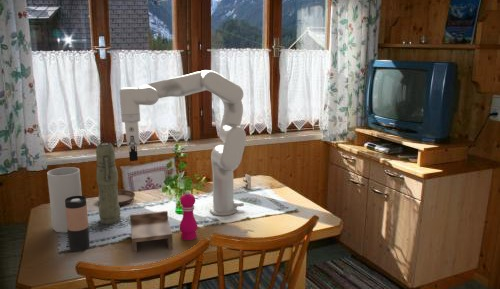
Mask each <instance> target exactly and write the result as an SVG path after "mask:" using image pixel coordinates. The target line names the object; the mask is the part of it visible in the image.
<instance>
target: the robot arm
mask: <svg viewBox="0 0 500 289" xmlns="http://www.w3.org/2000/svg"><path fill="white" fill-rule="evenodd" d="M243 90H244V89H243V88H242V87H241V86H240V85H238V84H237V83H235V82H234V81H232V80H230V79H228V78H227V77H225V76H223V75H222V74H220V73H219V72H216V71H213V70H210V69H204V70H201V71H195V72H192V73H189V74H184V75H181V76H175V77H171V78H167V79H162V80H158V81H157V80H156V81H153V82H149V83H145V84H142V85H140V86H139V87H138V88H137V87H133V86H131V87H130V86H129V87H128V86H127V87H122V88H120V89H119V92H118V93H119V103H120V104H119V105H120V117H121V118H120V119H121V123H124V130H125V138H126V144H127V146H128V149H129V150H128V154H129V155H128V156H129V162H137V161H139V160H138V158H139V156H138V146H139V147H140V143H141V142H140V130H139V129H140V128H139V122H141V108H140V105H142V106H152V105H155V104H157V102H158V101H159V99H162V98H167V97H170V98H172V97H173V98H174V97H175V98H176V97H177V98H180V97H182V98H183V97H186V96H189V95H194V94H196V93H200V92H204V91H208V92H210V93H211V94H213V95H215V96H217V97H218V98H219V100H221V101H222V103H223V107H224V108H223V116H222V118H221V119H222V120H221V122H220V127H219V131H218V137H219V139H220V140H221V142H223V143H224V144H218V145H216V146H215V147H213V148H212V150H211V154H210V159H211V160H210V161H211V168H212V169H211V170H212V202H213V203H212V206H210V208H209V212H210V213H211V214H213V215H215V216H224V217H225V216H231V215H234V214H235V213H236V212H238V207H244V205H245V204H244V202H243V201H239V200H238V201H235V200H234V171H235V170H237V168H238V167H239V166H240V164H241V162H242V159H243V155H244V154H243V153H244V152H245V147H246V142H247V134H246V131H245V129H244V127H242V126H241V125H242V119H243V114H244V105H243V102H242V100H243V98H244V91H243Z"/></svg>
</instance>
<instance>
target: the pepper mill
mask: <svg viewBox="0 0 500 289" xmlns="http://www.w3.org/2000/svg"><path fill="white" fill-rule="evenodd" d="M179 202H180V205H181V211H182V218H181V220H180V224H179V231H180V232H181V233H180V238H181V239H182V240H183V241H192V240H196V238H197V235H198V234H197V230H198V228H199V227H198V222H197V220H196V218H195V215H194V210H195V204H196V198H195V196H194V195H193V194H191V192H190V190H186V191H185V192H184V194H182V195H181V196H180V199H179Z"/></svg>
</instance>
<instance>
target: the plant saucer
mask: <svg viewBox="0 0 500 289" xmlns="http://www.w3.org/2000/svg"><path fill="white" fill-rule="evenodd" d="M135 196H136V193H135V192H134V191H132V190H128V189H127V190H126V189H118V203H119V206H123V205H127V204H129V203H130V202H132V201H133V200H134V198H135ZM98 200H99V196H98Z"/></svg>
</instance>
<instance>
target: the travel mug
mask: <svg viewBox="0 0 500 289" xmlns="http://www.w3.org/2000/svg"><path fill="white" fill-rule="evenodd" d="M87 204H88V203H87V197H86V196H84V195H82V196H72V197H68V198H66V199H65V208H66V220H67V230H68V232H67V236H68V244H69V250H70V251H71V252H75V253H76V252H77V253H81V252H84V251H87V250H88V249H89V248H90V246H91V245H90V228H89V218H88V217H89V216H88V207H87V206H88V205H87Z"/></svg>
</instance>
